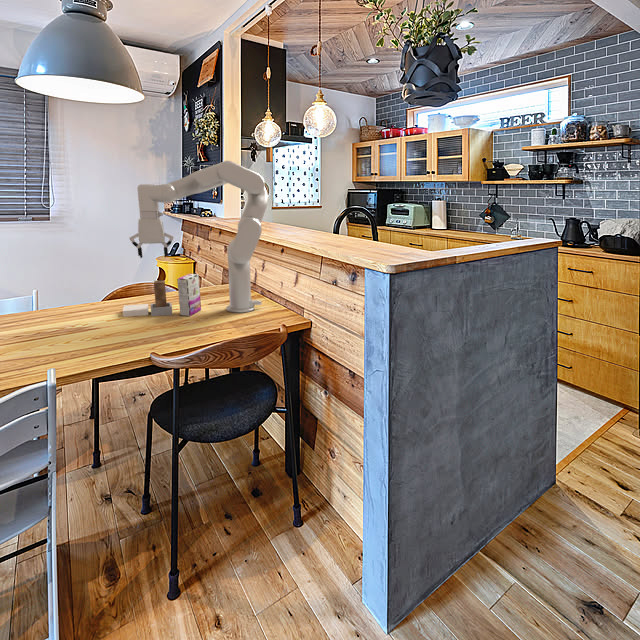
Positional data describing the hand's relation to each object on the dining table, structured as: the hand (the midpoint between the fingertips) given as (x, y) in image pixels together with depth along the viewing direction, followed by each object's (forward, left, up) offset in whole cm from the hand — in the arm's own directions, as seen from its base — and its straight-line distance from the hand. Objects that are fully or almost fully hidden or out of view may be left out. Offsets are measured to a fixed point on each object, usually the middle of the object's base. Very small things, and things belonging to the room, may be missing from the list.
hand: (153, 257), depth 196 cm
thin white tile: (+9, -3, -25) cm, 26 cm away
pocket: (-1, 0, -25) cm, 25 cm away
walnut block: (-1, 0, -25) cm, 25 cm away
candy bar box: (-13, +3, -25) cm, 28 cm away
